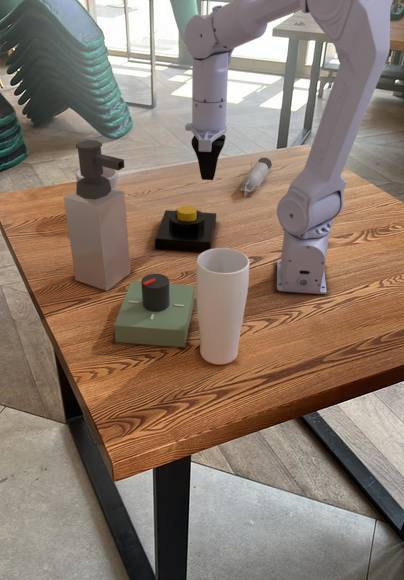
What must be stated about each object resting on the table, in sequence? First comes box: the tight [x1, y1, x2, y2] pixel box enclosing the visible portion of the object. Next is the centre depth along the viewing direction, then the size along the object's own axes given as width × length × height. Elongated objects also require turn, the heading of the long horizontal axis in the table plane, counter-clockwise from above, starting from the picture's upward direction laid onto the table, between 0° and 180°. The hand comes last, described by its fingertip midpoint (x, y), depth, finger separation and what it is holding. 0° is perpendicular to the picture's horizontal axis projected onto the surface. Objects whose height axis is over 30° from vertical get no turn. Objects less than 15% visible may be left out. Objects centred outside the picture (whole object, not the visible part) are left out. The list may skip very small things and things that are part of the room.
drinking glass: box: [195, 247, 251, 366], centre depth 76 cm, size 7×7×15 cm
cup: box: [75, 167, 119, 190], centre depth 112 cm, size 11×8×8 cm
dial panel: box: [113, 280, 195, 348], centre depth 85 cm, size 12×10×3 cm
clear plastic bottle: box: [239, 156, 273, 197], centre depth 126 cm, size 18×5×6 cm, turn 161°
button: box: [176, 205, 198, 222], centre depth 105 cm, size 4×4×2 cm
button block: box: [154, 209, 217, 253], centre depth 107 cm, size 12×10×4 cm
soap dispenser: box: [63, 139, 131, 291], centre depth 89 cm, size 6×9×22 cm
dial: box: [140, 273, 170, 311], centre depth 83 cm, size 4×4×4 cm
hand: (207, 178), depth 103 cm, fingers closed
